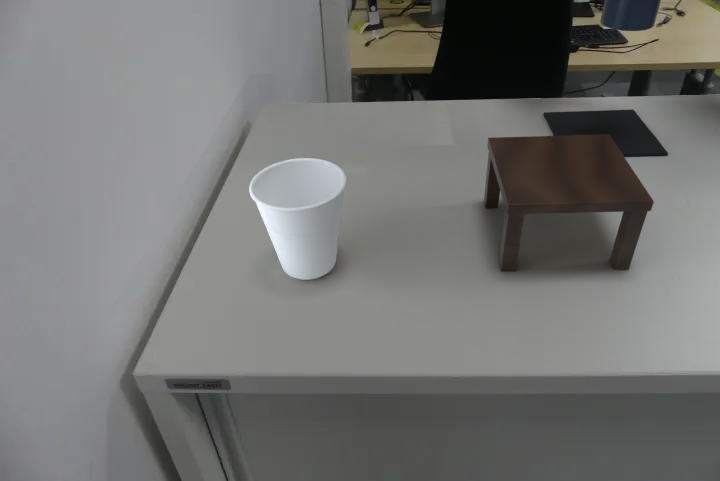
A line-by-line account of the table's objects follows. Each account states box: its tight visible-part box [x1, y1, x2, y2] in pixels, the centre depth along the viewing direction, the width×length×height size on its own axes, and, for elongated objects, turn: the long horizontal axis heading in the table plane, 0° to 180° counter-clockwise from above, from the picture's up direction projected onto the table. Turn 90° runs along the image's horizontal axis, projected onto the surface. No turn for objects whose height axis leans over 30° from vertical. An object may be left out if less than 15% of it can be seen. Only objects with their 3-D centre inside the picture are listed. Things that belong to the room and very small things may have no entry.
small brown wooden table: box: [483, 134, 655, 272], centre depth 63 cm, size 14×14×9 cm
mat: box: [543, 109, 669, 158], centre depth 84 cm, size 14×14×1 cm
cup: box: [248, 157, 348, 281], centre depth 60 cm, size 10×10×11 cm
